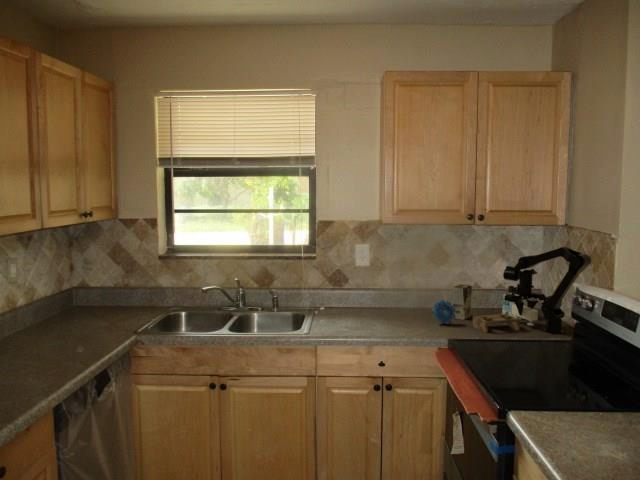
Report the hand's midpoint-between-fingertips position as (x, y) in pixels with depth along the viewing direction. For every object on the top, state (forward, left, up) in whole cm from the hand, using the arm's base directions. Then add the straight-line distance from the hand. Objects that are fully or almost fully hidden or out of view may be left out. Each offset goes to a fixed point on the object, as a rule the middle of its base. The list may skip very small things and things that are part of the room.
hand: (524, 315), depth 250 cm
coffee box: (+21, +21, -5) cm, 30 cm away
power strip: (0, 0, -3) cm, 3 cm away
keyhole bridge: (-1, +16, -5) cm, 17 cm away
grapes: (+11, +36, -5) cm, 38 cm away
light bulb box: (+16, -6, -5) cm, 18 cm away
